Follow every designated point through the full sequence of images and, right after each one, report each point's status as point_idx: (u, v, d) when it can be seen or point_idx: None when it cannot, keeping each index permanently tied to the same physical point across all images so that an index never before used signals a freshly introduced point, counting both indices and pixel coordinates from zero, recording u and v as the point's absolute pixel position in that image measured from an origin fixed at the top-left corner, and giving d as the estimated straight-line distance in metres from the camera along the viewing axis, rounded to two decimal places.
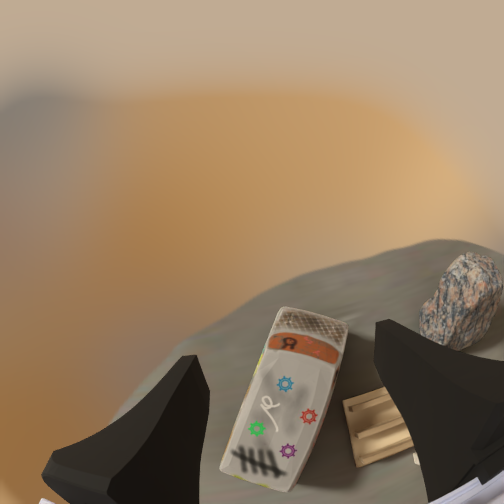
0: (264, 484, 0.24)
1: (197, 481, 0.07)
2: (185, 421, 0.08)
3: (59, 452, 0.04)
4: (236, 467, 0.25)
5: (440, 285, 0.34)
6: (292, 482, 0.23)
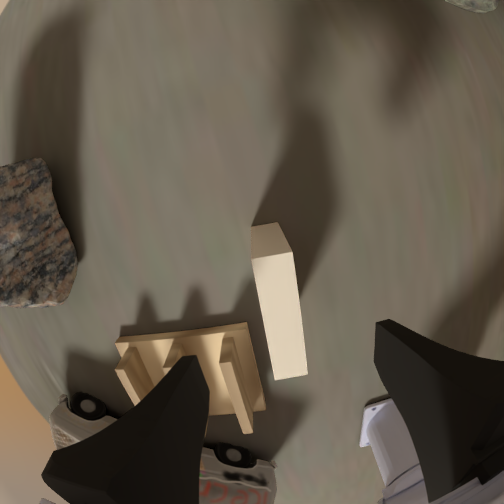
0: None
1: (197, 481, 0.07)
2: (185, 421, 0.08)
3: (58, 453, 0.04)
4: None
5: None
6: None
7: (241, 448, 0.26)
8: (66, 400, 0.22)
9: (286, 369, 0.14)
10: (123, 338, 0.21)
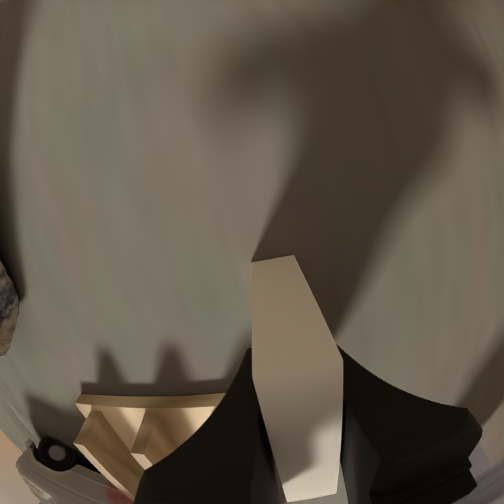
0: None
1: (275, 477, 0.07)
2: None
3: (154, 471, 0.04)
4: None
5: None
6: None
7: None
8: (33, 446, 0.15)
9: (305, 493, 0.07)
10: (85, 397, 0.14)
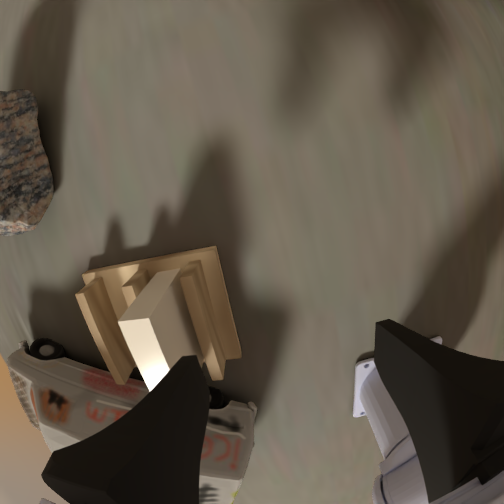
0: (232, 494, 0.16)
1: (197, 481, 0.07)
2: (185, 421, 0.08)
3: (59, 453, 0.04)
4: None
5: None
6: (220, 477, 0.15)
7: (211, 388, 0.24)
8: (26, 346, 0.21)
9: None
10: (91, 270, 0.20)
